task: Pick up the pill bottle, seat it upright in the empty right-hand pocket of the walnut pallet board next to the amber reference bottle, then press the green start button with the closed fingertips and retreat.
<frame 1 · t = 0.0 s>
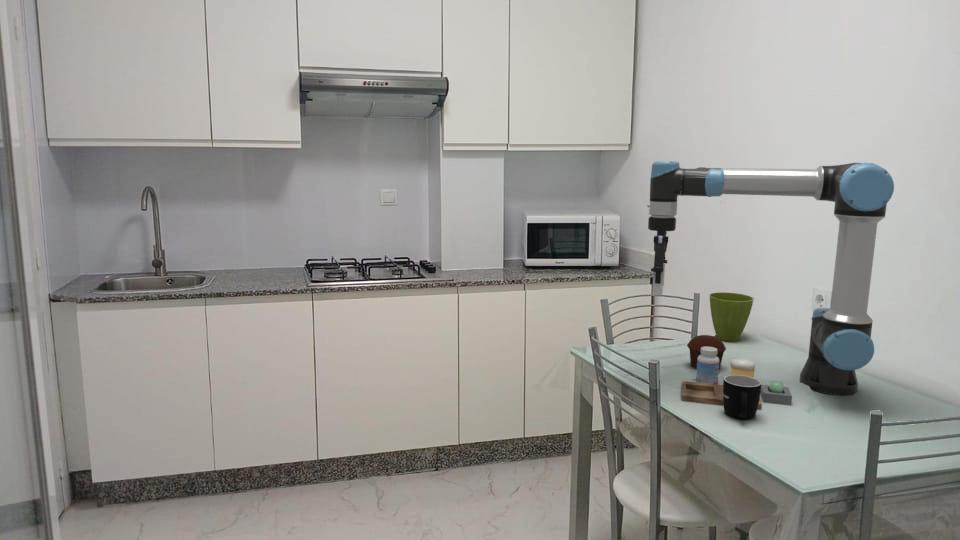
hand: (658, 289, 188), 28 cm above the table, fingers open, 13 cm apart
pallet board: (719, 400, 179), on the table
muffin: (704, 367, 208), on the table
button housing: (774, 402, 179), on the table
flower pot: (728, 339, 239), on the table
mug: (739, 421, 166), on the table
pill bottle: (706, 386, 191), on the table
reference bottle: (739, 399, 178), resting on pallet board
button plunger: (776, 389, 178), point 4 cm above the table, slide at 0.0 cm
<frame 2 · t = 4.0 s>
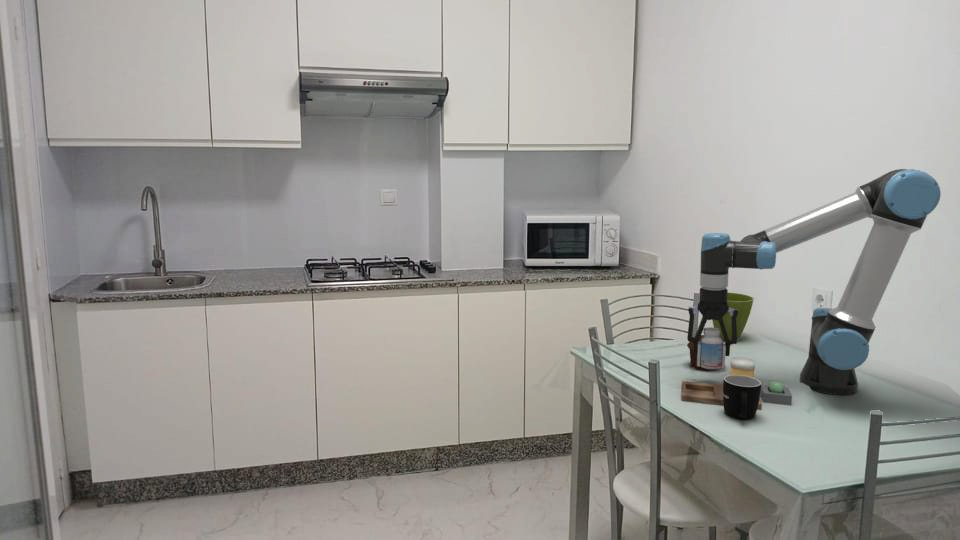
hand: (710, 365, 190), 6 cm above the table, fingers closed on pill bottle, 6 cm apart
pill bottle: (710, 367, 190), point 6 cm above the table, touching gripper
everything else where it was.
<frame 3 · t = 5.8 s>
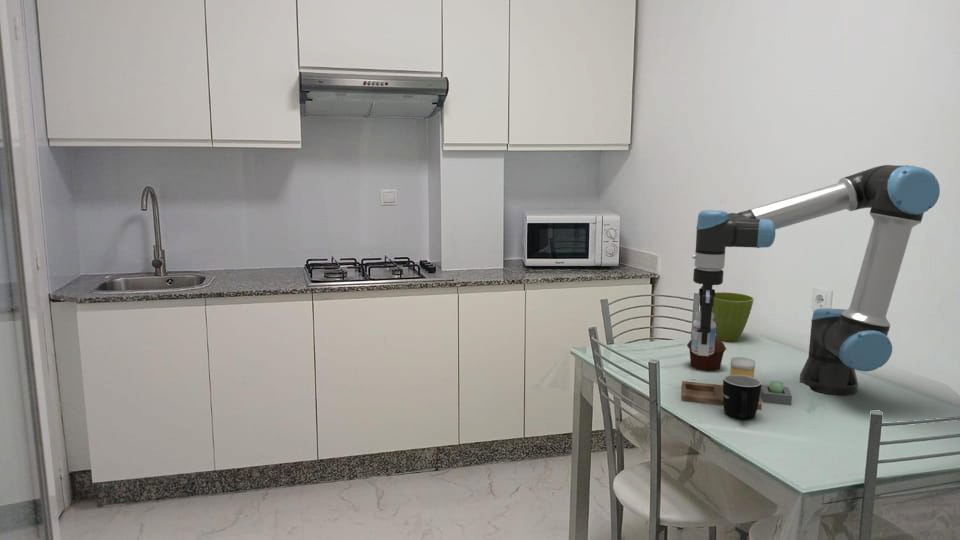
hand: (702, 351, 179), 14 cm above the table, fingers closed on pill bottle, 6 cm apart
pill bottle: (702, 353, 179), point 13 cm above the table, touching gripper
everything else where it was.
when the fingers open (4 cm above the table, at t = 7.7 s): pill bottle drops 2 cm, resting on pallet board.
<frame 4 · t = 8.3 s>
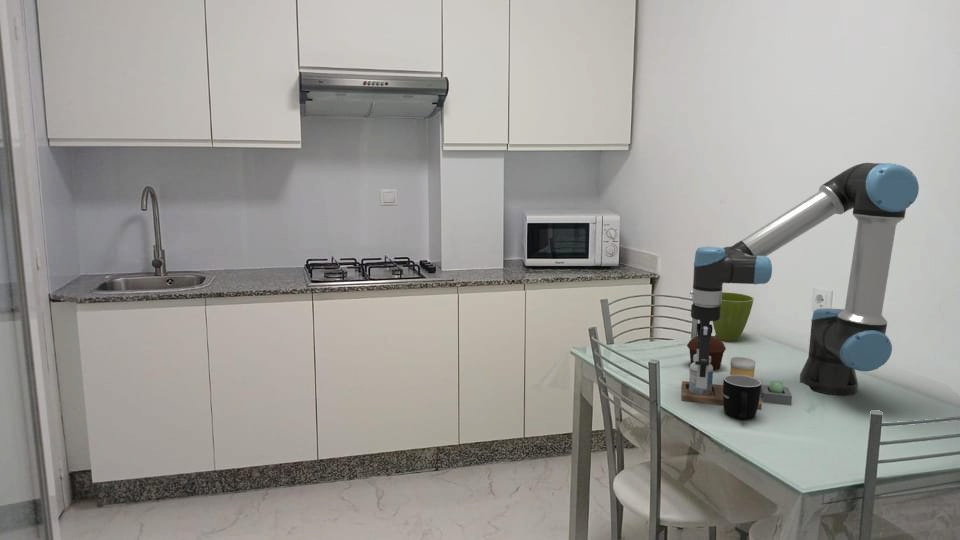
hand: (700, 379, 180), 5 cm above the table, fingers open, 13 cm apart
pill bottle: (699, 395, 181), point 1 cm above the table, touching pallet board
everything else where it was.
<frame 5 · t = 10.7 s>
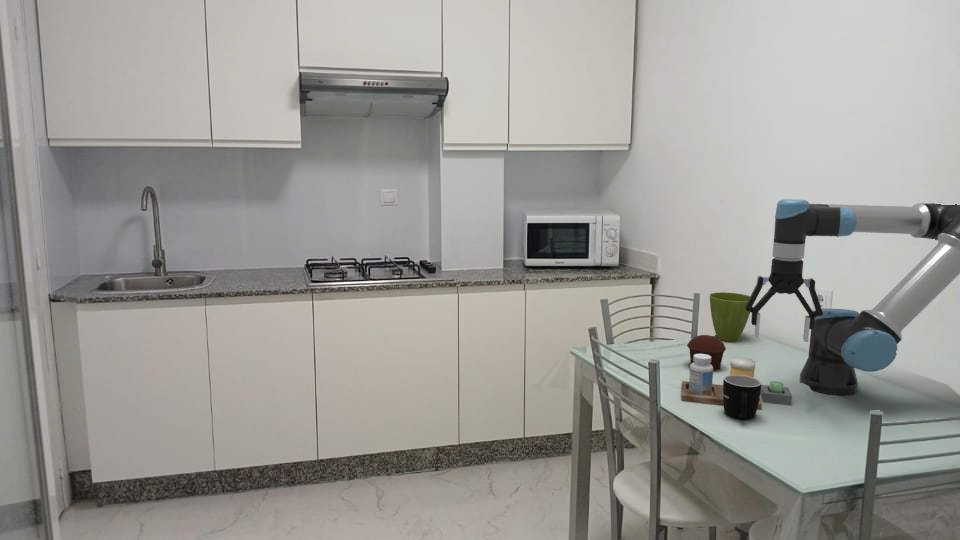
hand: (780, 338, 175), 18 cm above the table, fingers open, 11 cm apart
nothing on the table moved.
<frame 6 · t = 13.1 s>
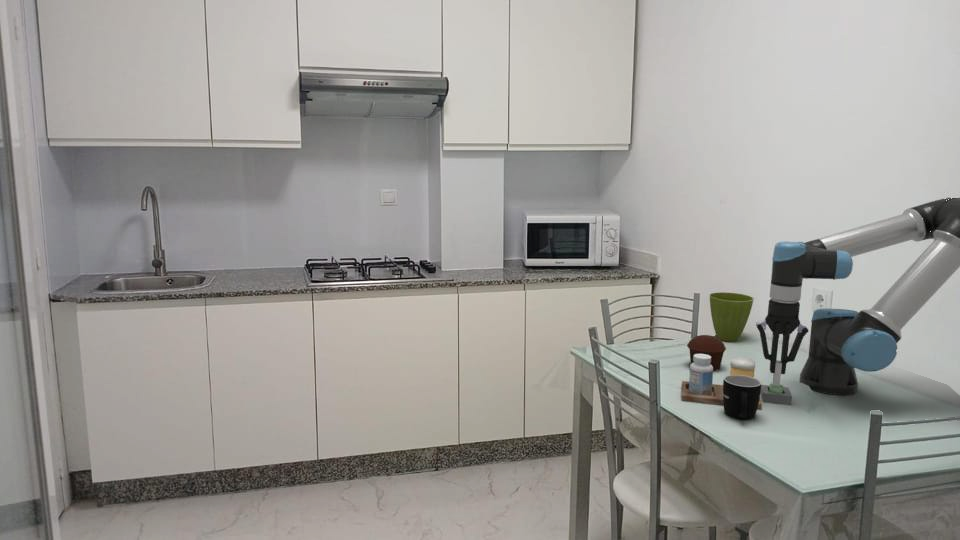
hand: (776, 384, 178), 5 cm above the table, fingers closed
button plunger: (775, 391, 178), point 3 cm above the table, slide at 0.7 cm, touching gripper
everything else where it was.
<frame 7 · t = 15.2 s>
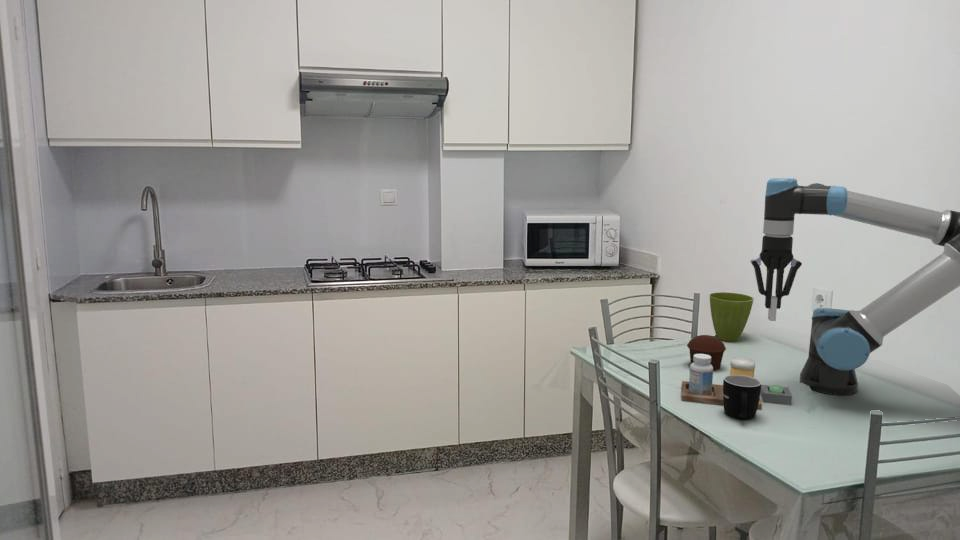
hand: (771, 319, 182), 21 cm above the table, fingers closed
button plunger: (775, 392, 178), point 3 cm above the table, slide at 1.0 cm
everything else where it was.
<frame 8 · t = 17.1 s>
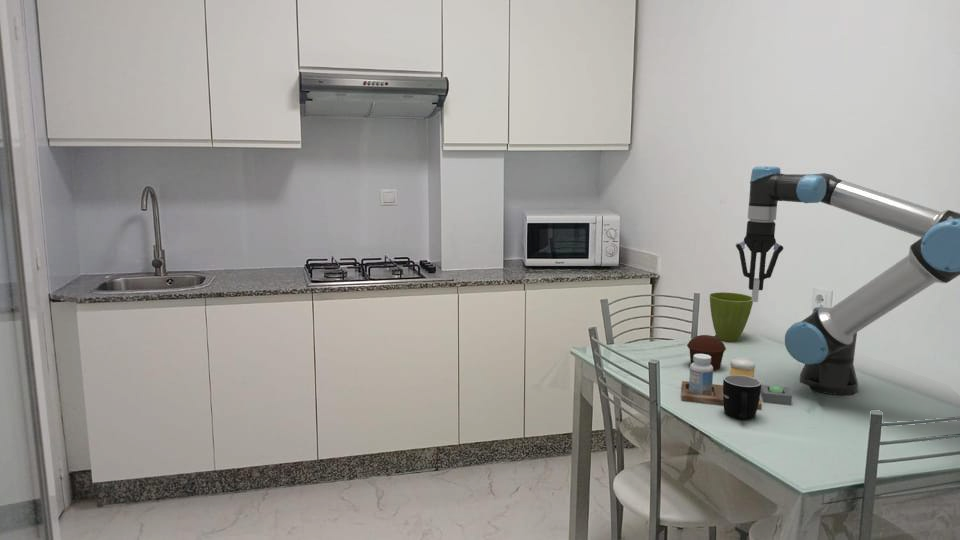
hand: (754, 300, 192), 24 cm above the table, fingers closed
nothing on the table moved.
at the end: pill bottle 0.0 cm from the target spot on the pallet board, point 0.8 cm above the pallet board's base; pill bottle tilted 0°; button plunger slide at 1.0 cm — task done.
